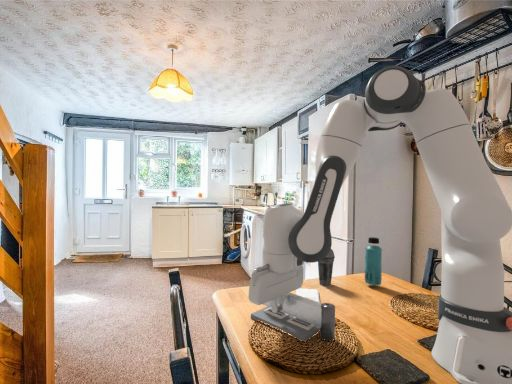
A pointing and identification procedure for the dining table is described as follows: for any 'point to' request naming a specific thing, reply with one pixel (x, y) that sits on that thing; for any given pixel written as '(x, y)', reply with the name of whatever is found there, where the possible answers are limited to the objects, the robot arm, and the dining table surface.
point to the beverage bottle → (373, 262)
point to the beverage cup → (326, 269)
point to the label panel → (286, 323)
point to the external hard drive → (308, 293)
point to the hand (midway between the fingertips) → (277, 311)
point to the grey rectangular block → (311, 313)
